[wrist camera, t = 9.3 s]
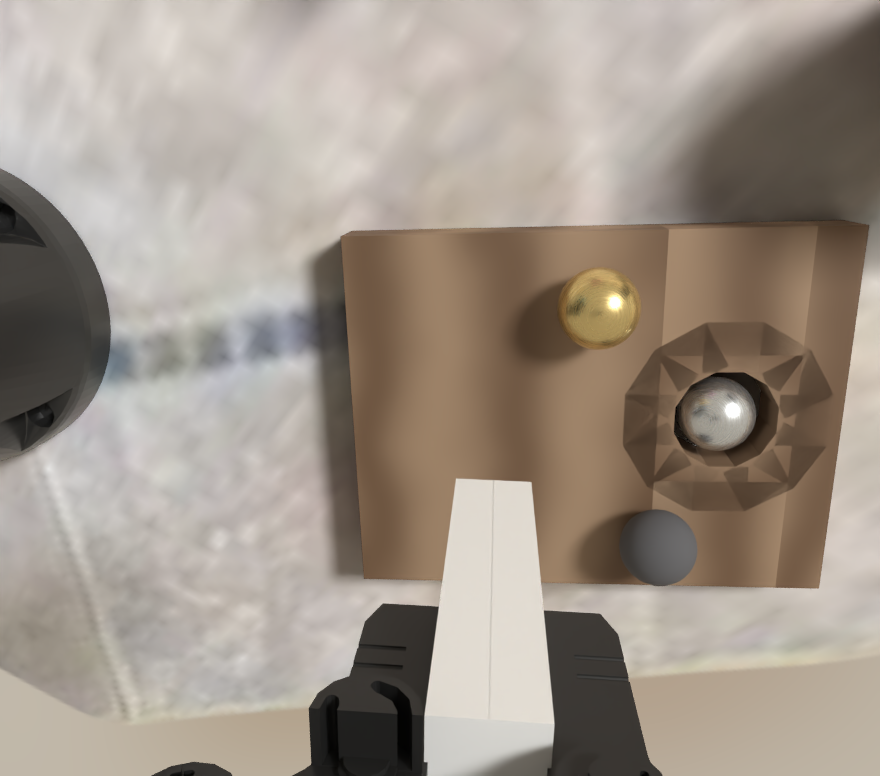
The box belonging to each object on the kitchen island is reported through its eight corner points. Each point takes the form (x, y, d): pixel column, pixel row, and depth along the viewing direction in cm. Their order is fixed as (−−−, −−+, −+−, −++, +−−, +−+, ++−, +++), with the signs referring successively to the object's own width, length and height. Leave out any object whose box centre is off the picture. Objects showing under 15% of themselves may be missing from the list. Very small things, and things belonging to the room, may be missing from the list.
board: (372, 553, 40) (364, 578, 37) (352, 230, 35) (340, 236, 32) (799, 561, 38) (818, 588, 35) (843, 220, 33) (869, 225, 30)
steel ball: (690, 434, 37) (665, 452, 34) (693, 367, 36) (667, 380, 33) (762, 445, 35) (741, 465, 32) (767, 374, 34) (746, 388, 31)
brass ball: (554, 339, 33) (559, 359, 30) (555, 262, 32) (560, 274, 29) (632, 338, 33) (645, 358, 29) (636, 261, 32) (650, 273, 28)
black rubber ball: (613, 560, 36) (623, 600, 33) (615, 496, 35) (626, 531, 32) (685, 561, 36) (702, 602, 32) (690, 497, 35) (708, 532, 31)
